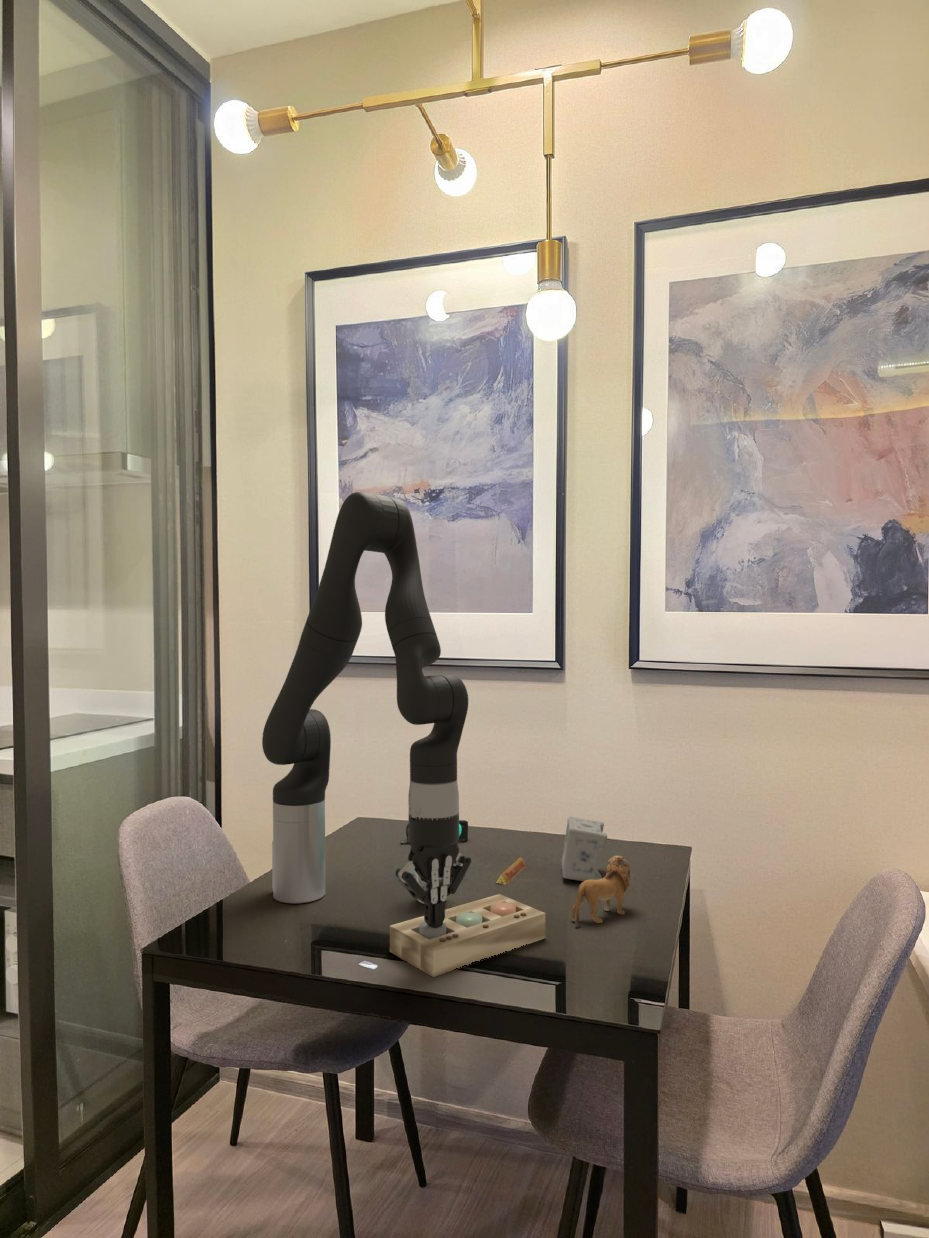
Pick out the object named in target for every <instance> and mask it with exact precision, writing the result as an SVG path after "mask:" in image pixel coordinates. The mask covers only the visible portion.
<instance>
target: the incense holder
mask: <svg viewBox="0 0 929 1238" xmlns="http://www.w3.org/2000/svg"><path fill="white" fill-rule="evenodd" d="M604 826H605V823H604V821H597V820H594V819H591V820H590V819H586V818H580V817H574V816H568V818H567V823H566V831H565V836H564V843H563V849H562V855H561V860H560V862H561V863H560V864H561V874H562V875H561V876H562V878H564V879H567V880H574V881H581V882H584V881H586V880H590V879H591V880H599V879H602V878H603V877H602V875H601V873H600V872H599V860H600V854H601V850H603V849H605V848H606V847H607V842H608V841H607V840H608V835H607V832H606V833H605V832H604Z"/></svg>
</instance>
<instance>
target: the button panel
mask: <svg viewBox="0 0 929 1238" xmlns="http://www.w3.org/2000/svg"><path fill="white" fill-rule="evenodd" d="M500 902H506V903H511V904H513V905H515V906H516V913H512V914H509V915H506V916H503V917H501V916H499V915H497V914H494V913H492V912H491V905H492V904H494V903H500ZM467 912H472V913H477V914H480V915H481V916H482V923H480V924H477V925H474V926H471V927H468V928H466V927H464V926H462V925H460V924H458V923H456V916H457V915H458V914H461V913H467ZM424 921H425V920H424V915H422V916H419V917H415V918H412V919H408V920H405V921H401V922H398V923H395V924H390V925H389V953H391V954H393V955H395V956H396V957H398V958H400V959H401V960H403V961H404V962H406V961H407V963H408V964H409V965H412V966H413V967H415V968H417V969H418V968H419V970H420V971H421V972H424V973H425V972H426V973H425V974H427V975H429V976H431V977H432V978H435V977H438V976H441V975H444V974H447V973H449V972H453V971H455V970H454V969H456V968H458V969H461V968H463V967H462V966H464V965H467V966H470V965H472V964H471V963H472V962H475V961H479V962H481V961H482V960H481V959H484V958H487V959H490V958H492V957H491V956H493V957H495V956H494V955H496V956H498V954H499V955H501V954H504V953H506V952H505V951H507V952H509V951H512V949H513V950H515V949H514V948H516V949H518V948H522V947H524V946H527V945H529V944H530V945H531V944H533V943H535V942H538V941H542V940H545V939H546V912H543V911H541V910H539V909H537V908H534V907H532V906H529V905H527V904H524V903H523V902H519V901H518V900H514V899H512V898H510V897H507V896H505V895H503V894H501V893H498V894H494V895H492V896H488V897H485V898H481V899H478V900H473V901H471V902H467V903H464V904H460V905H457V906H453V907H450V908H447V909H446V908H445V919H444V921H443V922H444V923H445V924H446V934H445V935H442V936H439V937H436V938H433V939H428V938H426V937H424V936H422V935H420V934H419V925H420V924H421V923H422V922H424ZM526 944H527V945H526ZM523 945H524V946H523ZM521 946H522V947H521ZM503 952H504V953H503ZM500 953H501V954H500ZM489 957H490V958H489ZM480 960H481V961H480ZM484 960H485V959H484ZM469 964H470V965H469ZM460 967H461V968H460ZM464 967H465V966H464ZM452 970H453V971H452ZM456 970H457V969H456ZM446 972H447V973H446Z"/></svg>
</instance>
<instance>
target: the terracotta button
mask: <svg viewBox="0 0 929 1238" xmlns="http://www.w3.org/2000/svg"><path fill="white" fill-rule="evenodd" d="M491 912H492V913H494V914H497V915H499V916H501V917H503V916H506V915H509V914H512V913H516V906H515V905H513V904H511V903H506V902H500V903H494V904H492V905H491Z"/></svg>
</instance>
